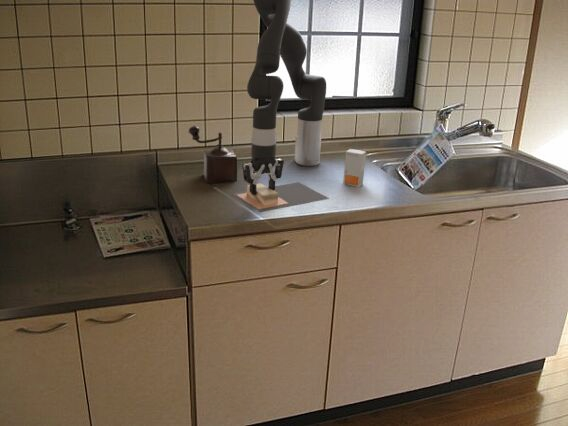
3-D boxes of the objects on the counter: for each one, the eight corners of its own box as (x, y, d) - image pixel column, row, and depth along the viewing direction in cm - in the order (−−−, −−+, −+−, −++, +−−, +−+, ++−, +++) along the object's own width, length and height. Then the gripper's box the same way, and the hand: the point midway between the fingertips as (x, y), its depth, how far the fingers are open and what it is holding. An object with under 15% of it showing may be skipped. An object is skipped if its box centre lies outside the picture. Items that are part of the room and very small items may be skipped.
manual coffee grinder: (231, 172, 218) (232, 123, 211) (237, 182, 208) (238, 131, 201) (188, 174, 214) (187, 124, 207) (192, 184, 204) (191, 132, 197)
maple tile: (278, 203, 189) (278, 193, 188) (264, 205, 186) (264, 196, 185) (260, 192, 197) (260, 183, 196) (246, 194, 195) (246, 185, 194)
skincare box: (342, 184, 211) (345, 151, 206) (347, 181, 214) (350, 148, 210) (358, 187, 208) (362, 154, 204) (363, 184, 212) (366, 151, 207)
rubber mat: (232, 195, 196) (232, 193, 196) (298, 183, 209) (298, 181, 209) (260, 213, 182) (260, 211, 182) (329, 200, 196) (329, 197, 195)
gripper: (249, 147, 178) (248, 200, 185) (290, 141, 186) (287, 193, 192) (237, 141, 184) (236, 192, 190) (277, 136, 191) (275, 186, 198)
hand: (262, 192), depth 191 cm, fingers open, 6 cm apart
